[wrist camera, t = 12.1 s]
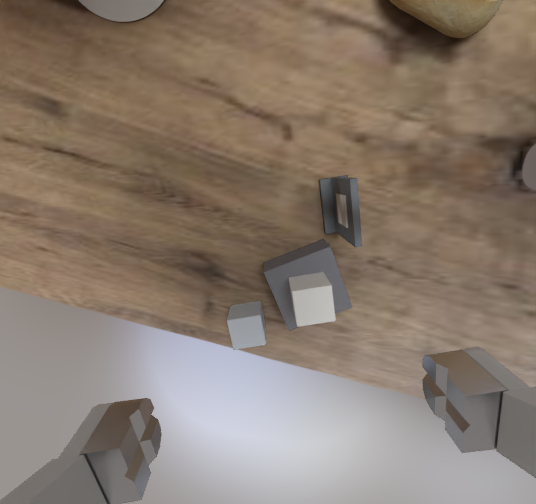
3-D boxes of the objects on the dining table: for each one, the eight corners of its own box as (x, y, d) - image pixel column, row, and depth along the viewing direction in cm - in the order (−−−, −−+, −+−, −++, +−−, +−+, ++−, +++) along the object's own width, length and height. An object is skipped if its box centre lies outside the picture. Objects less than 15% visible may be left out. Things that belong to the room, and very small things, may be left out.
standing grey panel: (319, 179, 41) (335, 181, 32) (346, 175, 41) (371, 175, 32) (324, 233, 43) (342, 249, 34) (350, 228, 43) (375, 244, 34)
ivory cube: (288, 277, 40) (291, 291, 36) (323, 272, 40) (331, 285, 35) (293, 309, 42) (297, 326, 37) (327, 303, 42) (335, 320, 37)
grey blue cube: (230, 305, 47) (226, 320, 42) (260, 300, 46) (260, 315, 42) (236, 332, 48) (233, 349, 43) (265, 327, 48) (266, 344, 43)
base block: (263, 261, 45) (263, 272, 40) (323, 238, 44) (330, 246, 39) (286, 314, 47) (288, 330, 43) (343, 293, 47) (352, 307, 42)
